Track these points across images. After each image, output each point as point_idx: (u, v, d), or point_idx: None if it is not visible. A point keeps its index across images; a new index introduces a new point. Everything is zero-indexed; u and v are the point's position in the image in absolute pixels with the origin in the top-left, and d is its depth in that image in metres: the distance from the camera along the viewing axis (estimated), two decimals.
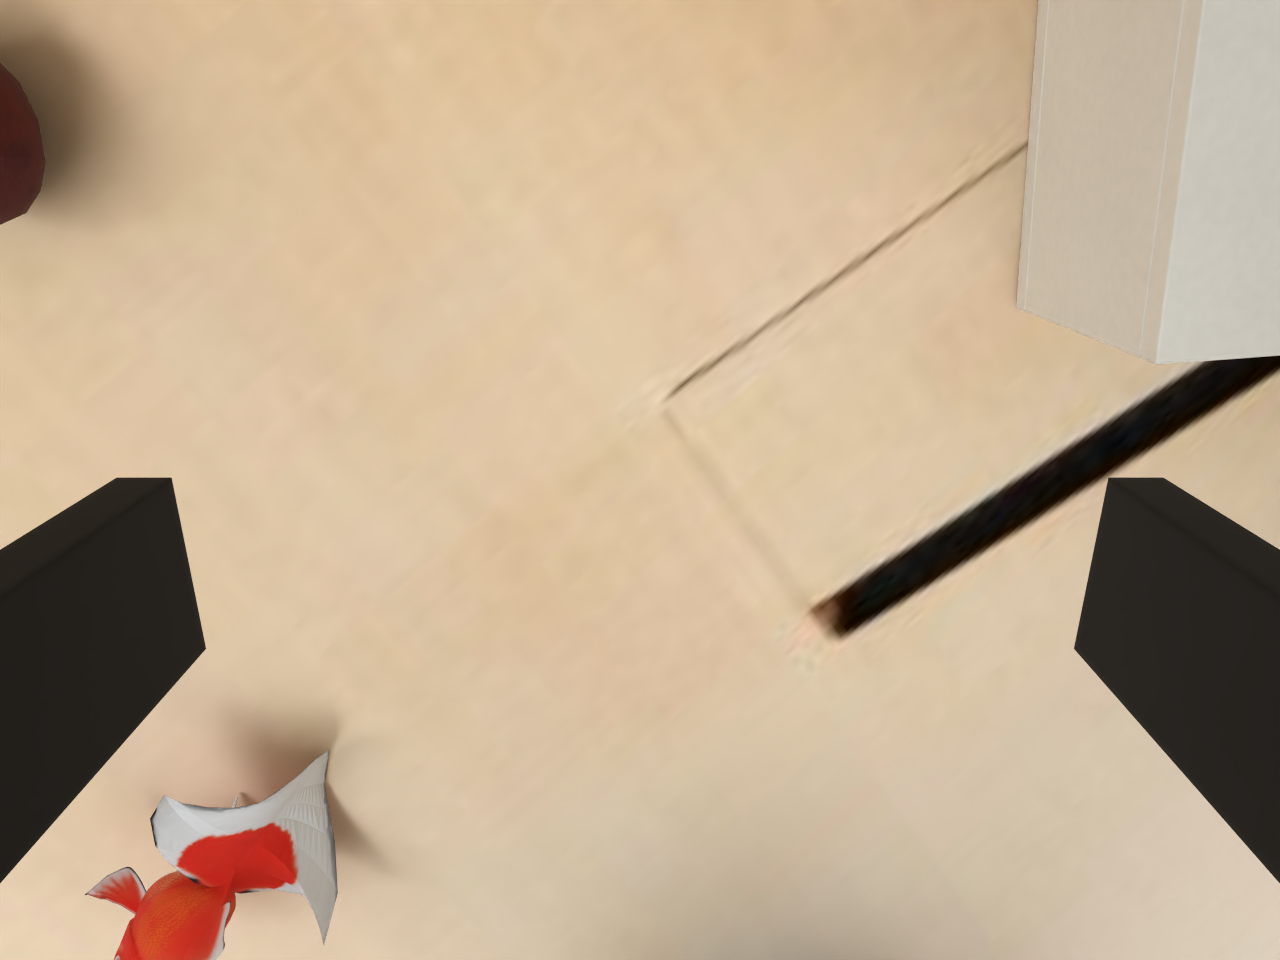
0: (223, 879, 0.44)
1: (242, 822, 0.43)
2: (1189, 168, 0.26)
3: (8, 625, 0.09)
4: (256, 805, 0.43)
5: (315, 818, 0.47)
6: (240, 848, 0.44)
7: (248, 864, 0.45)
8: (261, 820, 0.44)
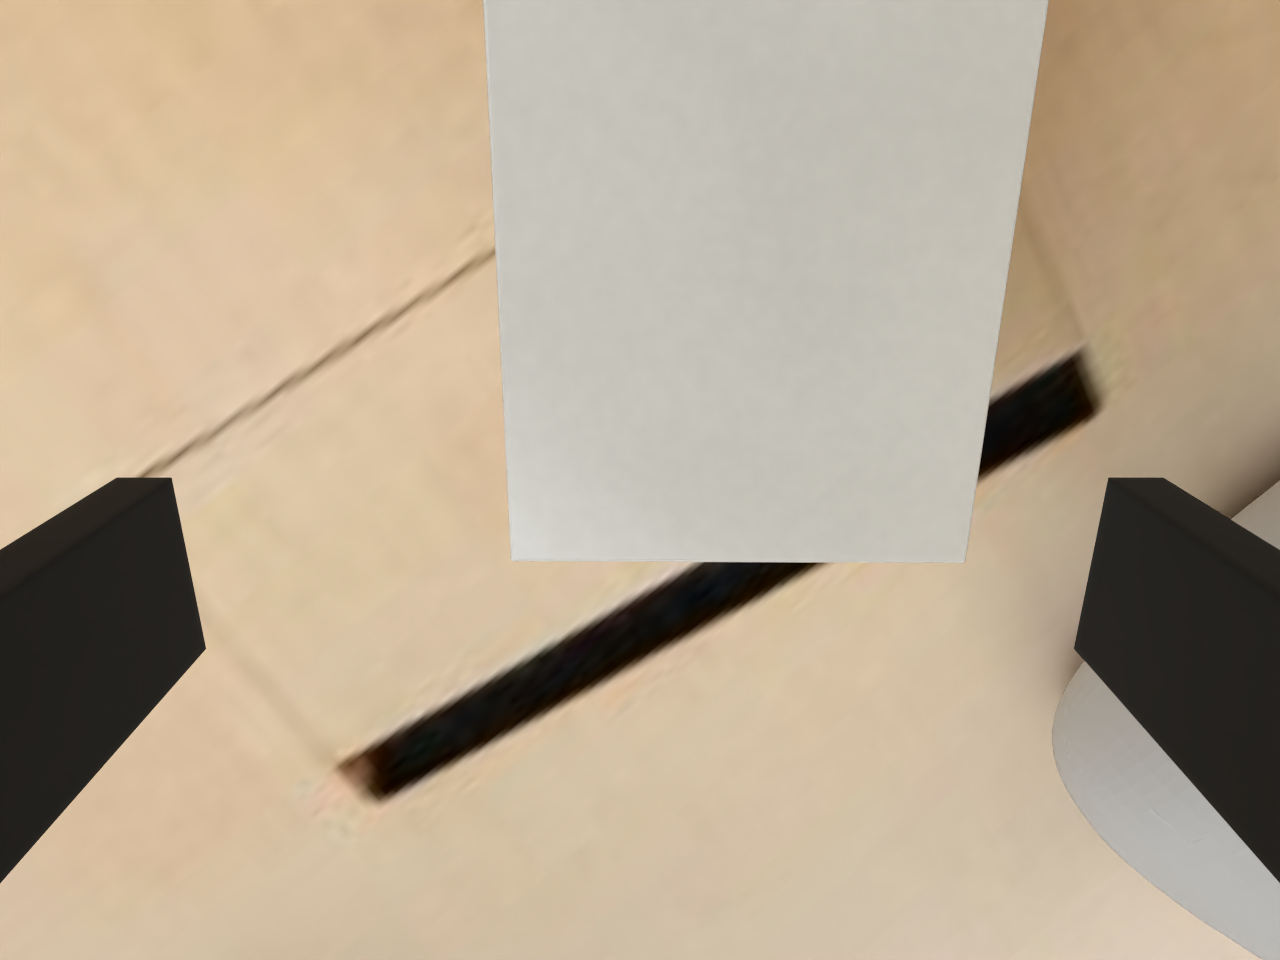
0: None
1: None
2: (510, 291, 0.18)
3: (8, 625, 0.09)
4: None
5: None
6: None
7: None
8: None
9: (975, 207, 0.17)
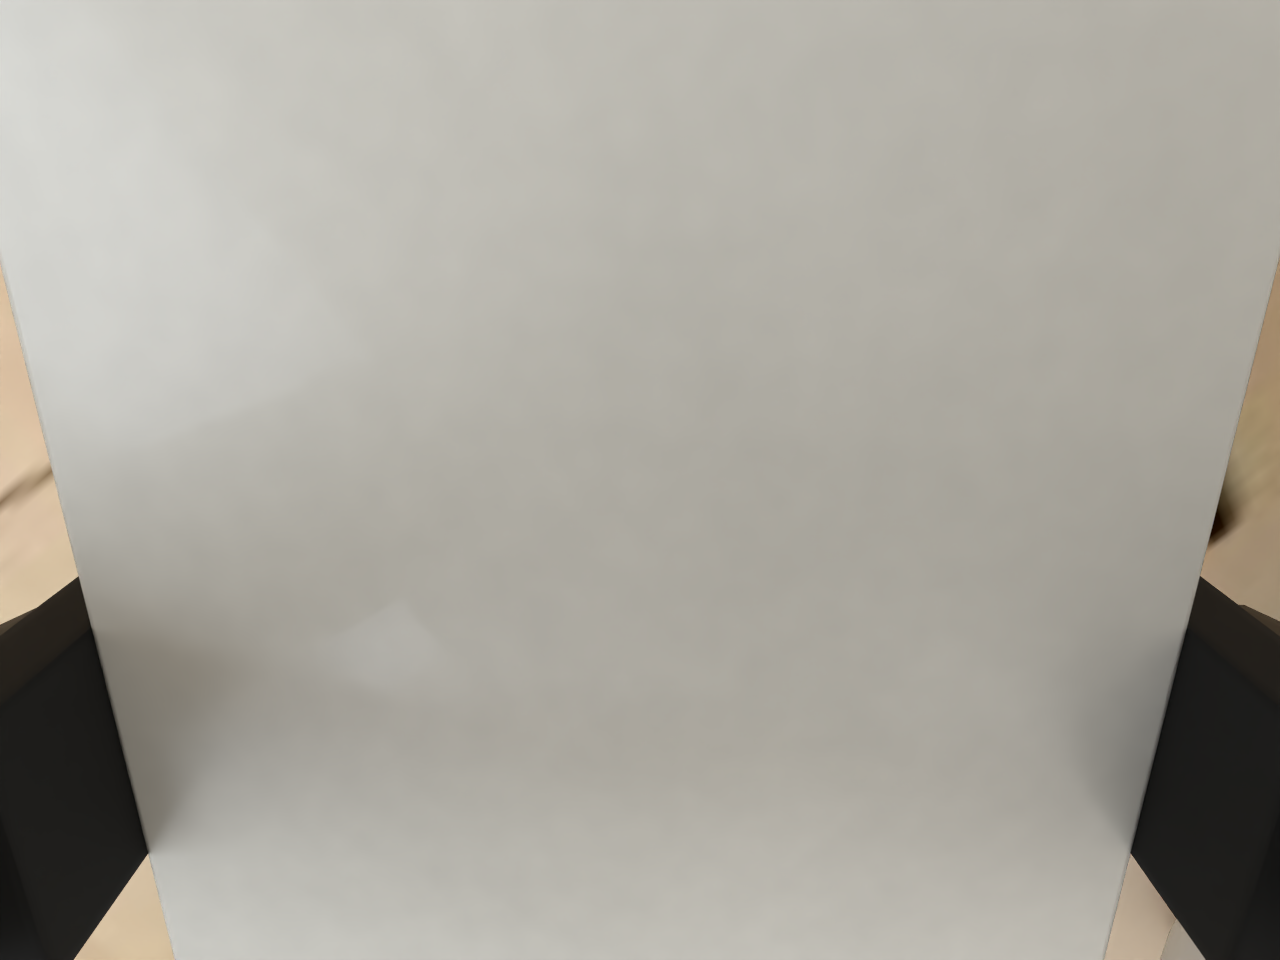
0: None
1: None
2: (78, 459, 0.08)
3: None
4: None
5: None
6: None
7: None
8: None
9: (1175, 263, 0.07)
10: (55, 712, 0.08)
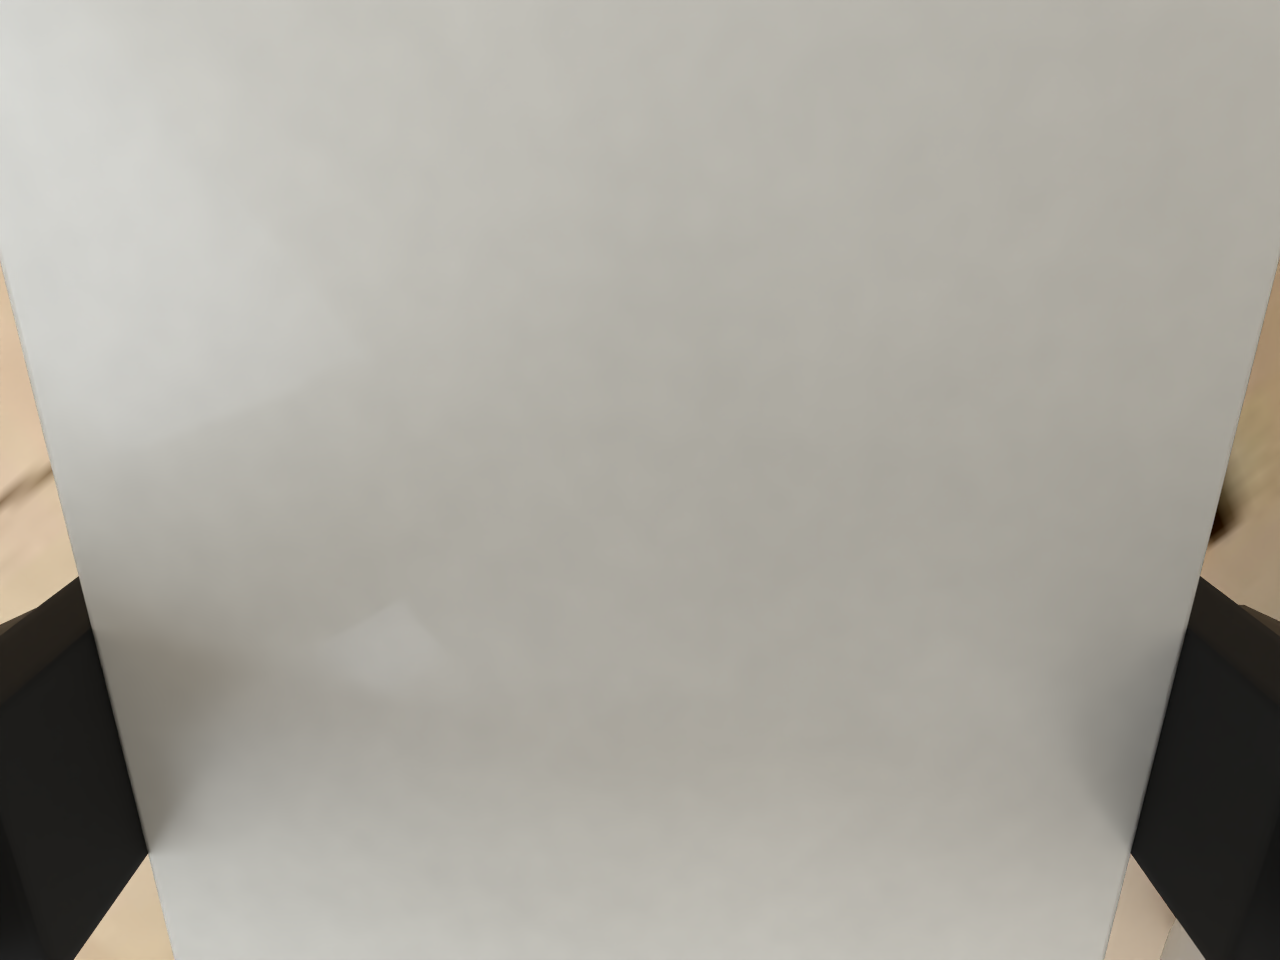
0: None
1: None
2: (79, 459, 0.08)
3: None
4: None
5: None
6: None
7: None
8: None
9: (1176, 264, 0.07)
10: (55, 712, 0.08)
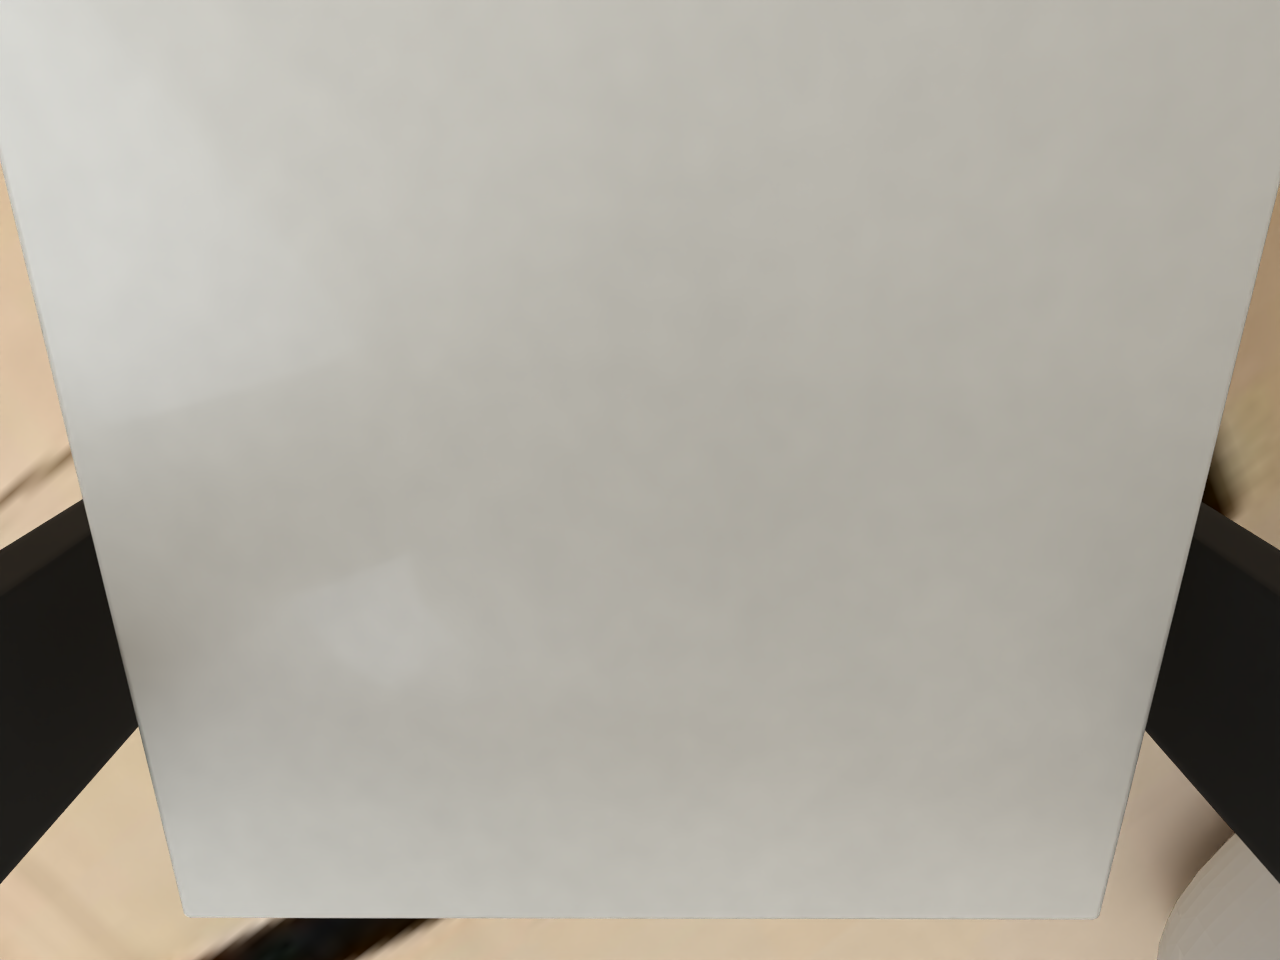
0: None
1: None
2: (87, 400, 0.08)
3: (9, 625, 0.09)
4: None
5: None
6: None
7: None
8: None
9: (1173, 201, 0.07)
10: None
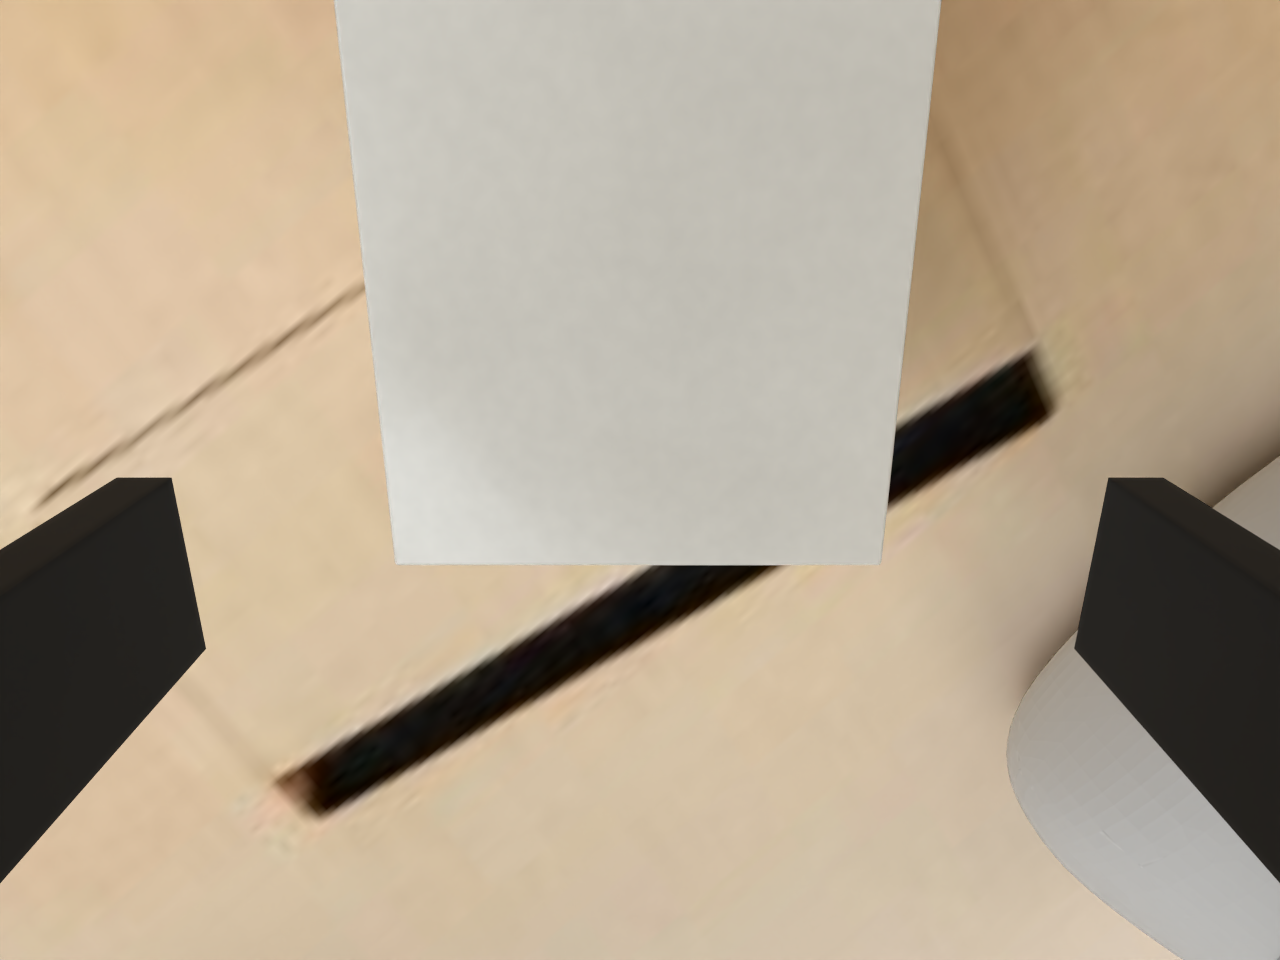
0: None
1: None
2: (377, 275, 0.16)
3: (8, 625, 0.09)
4: None
5: None
6: None
7: None
8: None
9: (875, 181, 0.16)
10: None
